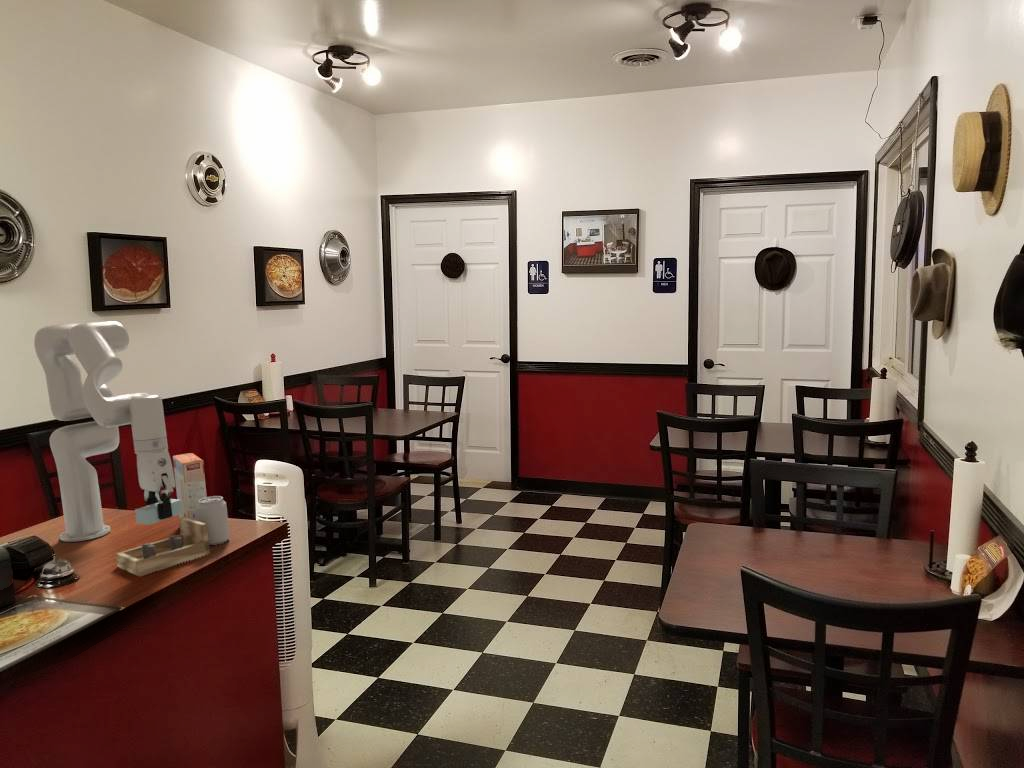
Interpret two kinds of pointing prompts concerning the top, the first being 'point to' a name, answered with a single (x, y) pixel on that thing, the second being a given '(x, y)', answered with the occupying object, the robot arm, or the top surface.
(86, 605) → the top surface
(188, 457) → the cracker box
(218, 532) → the can
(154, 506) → the block
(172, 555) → the wooden drawer
